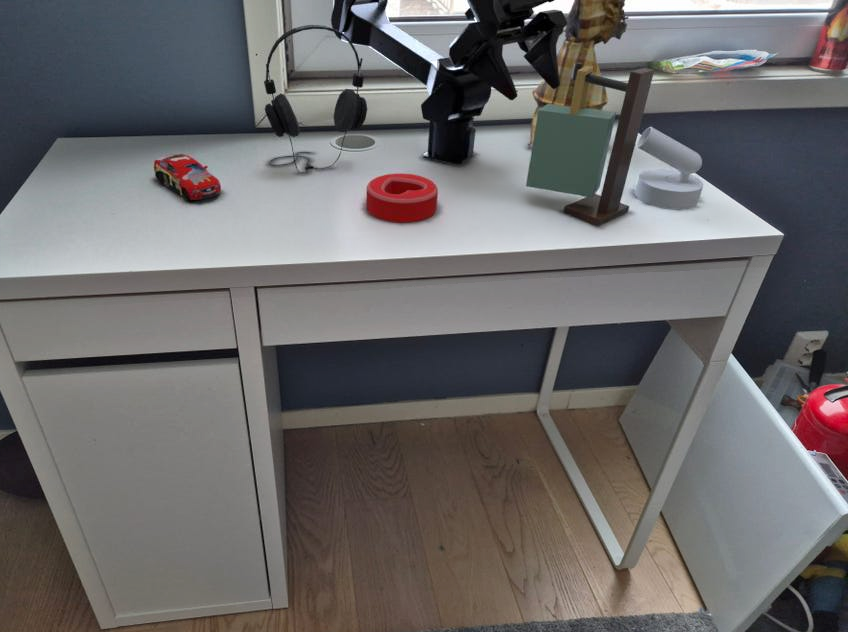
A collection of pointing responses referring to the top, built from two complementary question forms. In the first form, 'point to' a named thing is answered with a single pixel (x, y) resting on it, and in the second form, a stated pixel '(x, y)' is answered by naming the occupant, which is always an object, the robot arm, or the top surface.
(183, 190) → the race car
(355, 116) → the headphones
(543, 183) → the tote bag
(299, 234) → the top surface
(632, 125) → the hook stand
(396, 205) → the decorative ornament
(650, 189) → the grey spotlight lamp
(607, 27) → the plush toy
